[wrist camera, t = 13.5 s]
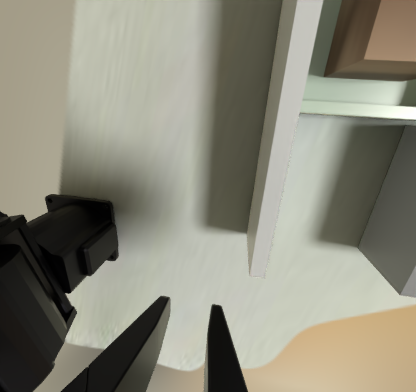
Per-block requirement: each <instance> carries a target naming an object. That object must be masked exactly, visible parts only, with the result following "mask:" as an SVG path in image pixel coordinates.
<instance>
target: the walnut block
mask: <svg viewBox="0 0 416 392" xmlns="http://www.w3.org/2000/svg"><path fill="white" fill-rule="evenodd" d="M324 77H325V78H343V79H361V80H380V81H398V82H404V81H409V80H414V79H416V0H342V2H341V6H340V10H339V14H338V18H337V23H336V27H335V31H334V35H333V39H332V43H331V47H330V52H329V56H328V60H327V64H326V68H325V72H324Z"/></svg>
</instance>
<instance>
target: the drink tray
mask: <svg viewBox="0 0 416 392" xmlns="http://www.w3.org/2000/svg"><path fill="white" fill-rule="evenodd" d="M341 2H342V0H283V2H282V8H281V15H280V21H279V28H278V34H277V41H276V47H275V54H274V61H273V67H272V74H271V80H270V87H269V93H268V100H267V106H266V113H265V119H264V126H263V132H262V139H261V145H260V152H259V158H258V165H257V171H256V178H255V184H254V191H253V197H252V204H251V211H250V217H249V224H248V230H247V247H248V262H249V276H250V277H257V278H264V279H265V276H266V271H267V267H268V262H269V257H270V252H271V247H272V243H273V238H274V233H275V228H276V224H277V219H278V214H279V209H280V205H281V200H282V195H283V190H284V185H285V181H286V176H287V171H288V166H289V162H290V157H291V152H292V147H293V143H294V138H295V133H296V128H297V123H298V119H299V114H300V113H303V114H318V115H334V116H349V117H364V118H380V119H395V120H410V121H416V79H414V80H409V81H404V82H398V81H380V80H361V79H343V78H325V77H324V72H325V68H326V64H327V60H328V56H329V52H330V47H331V43H332V39H333V35H334V31H335V27H336V23H337V18H338V14H339V10H340V6H341Z"/></svg>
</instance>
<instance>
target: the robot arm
mask: <svg viewBox="0 0 416 392" xmlns="http://www.w3.org/2000/svg"><path fill="white" fill-rule="evenodd" d="M45 201H46V205H47V209H48V213H45V214H44V215H42V216H39V217H37V218H36V219H33V220H32V221H30V222H28V223H27V220H26V219H25V217H24V215H17V216H10V217H8V216H7V214H3V213H2V212H0V392H33V391H34V390H35V389H36V388H37V387H38V386H39V385H40V384H41V383H42V382H43V381H44V380H45V378H46V377H47V376H48V375H49V374H50V372H51V371H52V369H53V368H54V365H55V363H54V361H55V358H56V357H57V354H58V352H59V351H60V349H61V347H62V346H63V344H64V341H65V337H66V335H67V333H68V331H69V329H70V327H71V325H72V322H73V320H74V318H75V316H76V314H77V311H76V309H75V307H74V306H72V305H71V303H70V301H69V300H68V298H67V296H66V294H65V293H68V294H69V293H71V292H72V291H73V290H74V289H75V288H76V287H77V286H78V285H79V284H80V283H81V282H82V280H83V279H84V278H85V277H86V276H91V275H93V274H94V273H95V272H96V270H97V269H98V268H99V267H100V266H101V265H102V264H103V263H104V262H105V261H106V260H108V261H115V260H116V259H117V258H118V256H119V254H118V239H117V230H116V225H115V219H114V211H113V205H112V203H111V202H110V201H106V200H98V199H89V198H81V197H73V196H64V195H56V194H51V195H48V196H46V198H45ZM105 205H107V206H108V208H107V207H106V206H105ZM112 255H113V256H112ZM169 317H170V297H166V296H160V297H159V298H158V299H157V300H156V301H155V302H154V303H153V304H152V305H151V306H150V307H149V308H148V309H147V310H146V311H144V312H143V313H142V314H141V315H140V316H139V317H138V318H137V319H136V320H135V321H134V322H133V323H132V324H131V325H130V326H129V327H128V328H127V329H126V330H125V331H124V332H123V333H122V334H121V335H120V336H119V337H118V338H116V339H115V340H114V341H113V342H112V343H111V344H110V345H109V346H108V347H107V348H106V349H105V350H104V351H103V352H102V353H101V354H100V355H99V356H98V357H97V358H96V359H95V360H94V361H93V362H92V363H91V364H90V365H89V367H87V368H85V369H84V370H83V371H82V372H81V373H80V374H79V375H78V376H77V377H76V378H75V379H74V380H73V381H72V382H71V383H69V384H68V385H67V386H66V387H65V388H64V389H63V390H62V391H61V392H146V390H147V387H148V384H149V382H150V379H151V376H152V374H153V371H154V368H155V366H156V363H157V360H158V357H159V354H160V350H161V347H162V343H163V339H164V336H165V332H166V328H167V324H168V321H169ZM204 392H248V390H247V387H246V384H245V380H244V377H243V374H242V371H241V367H240V364H239V361H238V358H237V354H236V351H235V348H234V345H233V341H232V338H231V335H230V332H229V328H228V325H227V322H226V319H225V315H224V312H223V309H222V306H220V305H215V304H213V305H212V306H211V312H210V319H209V325H208V333H207V345H206V356H205V369H204Z"/></svg>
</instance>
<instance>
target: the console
mask: <svg viewBox="0 0 416 392" xmlns="http://www.w3.org/2000/svg"><path fill="white" fill-rule="evenodd" d="M358 249H359V250H360V251H361V252H362V253H363V254H364V256H365V257H366V258H367V259H368V260H369V261H370V262H371V263H372V264H373V266H374V267H375V268H376V269H377V270H378V271H379V272H380V273H381V275H382V276H383V277H384V278H385V279H386V280H387V281H388V282H389V283H390V285H391V286H392V287H393V288H394V289H395V290H396V291H397V292H398V293H399V295H402V296H409V297H416V126H412V125H406V126H405V129H404V131H403V134H402V136H401V139H400V141H399V144H398V146H397V149H396V152H395V154H394V157H393V159H392V162H391V164H390V167H389V169H388V172H387V175H386V177H385V180H384V182H383V185H382V187H381V190H380V192H379V195H378V197H377V200H376V203H375V205H374V208H373V210H372V213H371V215H370V218H369V220H368V223H367V226H366V228H365V231H364V233H363V236H362V238H361V241H360V243H359V246H358Z"/></svg>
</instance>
